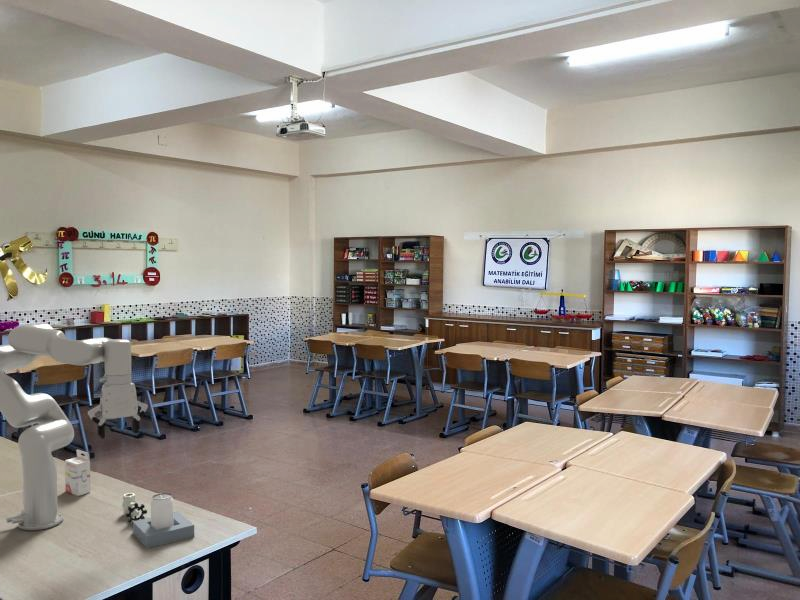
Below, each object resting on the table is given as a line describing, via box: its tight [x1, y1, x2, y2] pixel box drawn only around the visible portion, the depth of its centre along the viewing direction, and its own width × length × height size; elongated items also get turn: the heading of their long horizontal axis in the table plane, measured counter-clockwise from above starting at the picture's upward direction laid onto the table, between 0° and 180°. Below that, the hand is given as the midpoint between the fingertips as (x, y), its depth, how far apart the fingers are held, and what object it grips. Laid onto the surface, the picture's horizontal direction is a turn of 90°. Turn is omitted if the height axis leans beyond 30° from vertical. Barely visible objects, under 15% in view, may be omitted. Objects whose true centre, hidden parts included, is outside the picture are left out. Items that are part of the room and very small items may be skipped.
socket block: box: [132, 510, 195, 549], centre depth 200 cm, size 14×14×4 cm
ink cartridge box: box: [64, 449, 91, 497], centre depth 236 cm, size 9×5×15 cm, turn 57°
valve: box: [121, 492, 148, 524], centre depth 213 cm, size 7×7×12 cm
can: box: [150, 492, 174, 530], centre depth 200 cm, size 6×6×12 cm
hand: (118, 435), depth 200 cm, fingers open, 9 cm apart
